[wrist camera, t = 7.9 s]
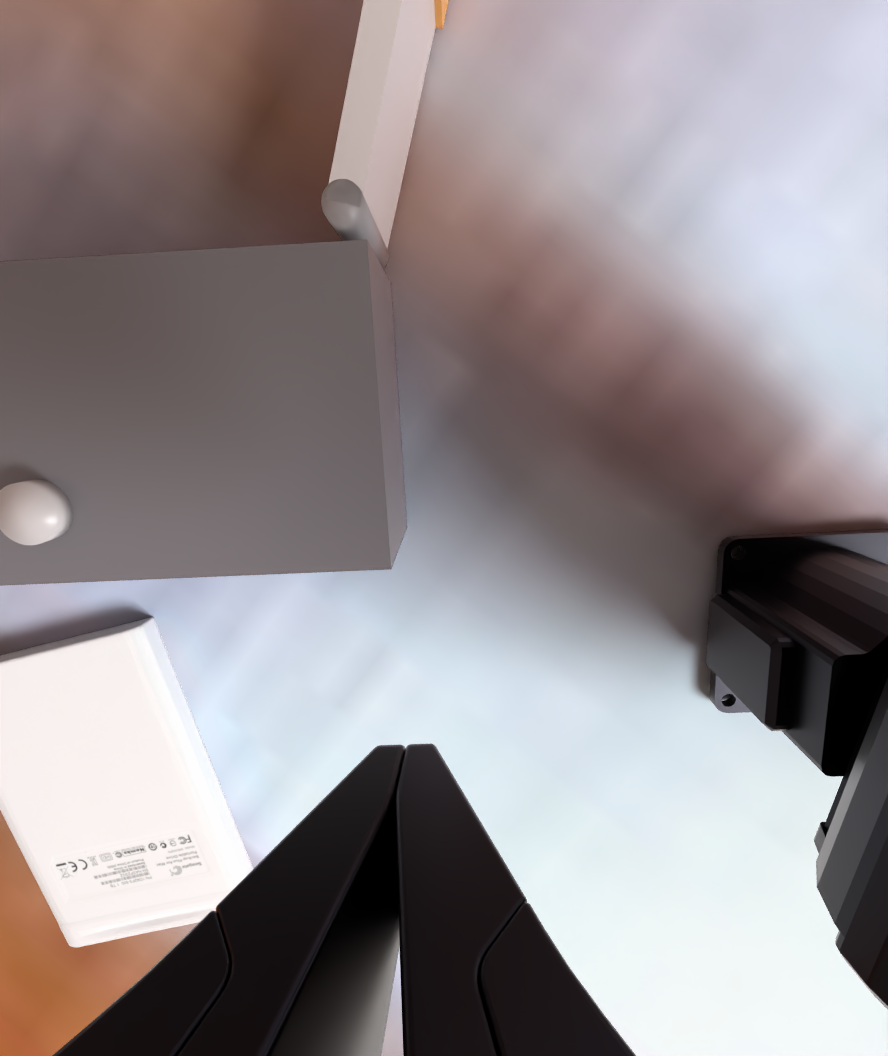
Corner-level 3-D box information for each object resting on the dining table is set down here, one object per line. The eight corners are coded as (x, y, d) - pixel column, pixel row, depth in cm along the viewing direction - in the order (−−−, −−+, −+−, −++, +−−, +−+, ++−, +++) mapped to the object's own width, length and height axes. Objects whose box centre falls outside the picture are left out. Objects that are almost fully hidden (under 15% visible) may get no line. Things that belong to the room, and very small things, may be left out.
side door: (387, 277, 18) (327, 167, 9) (350, 267, 18) (257, 149, 9) (452, -19, 16) (450, -476, 8) (411, -31, 16) (364, -503, 8)
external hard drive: (161, 610, 21) (266, 880, 24) (-35, 660, 22) (88, 918, 24) (138, 627, 20) (253, 914, 22) (-74, 680, 20) (62, 954, 23)
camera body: (391, 283, 18) (362, 231, 12) (406, 527, 20) (388, 576, 14) (-24, 307, 18) (-227, 266, 13) (28, 544, 20) (-132, 597, 15)
